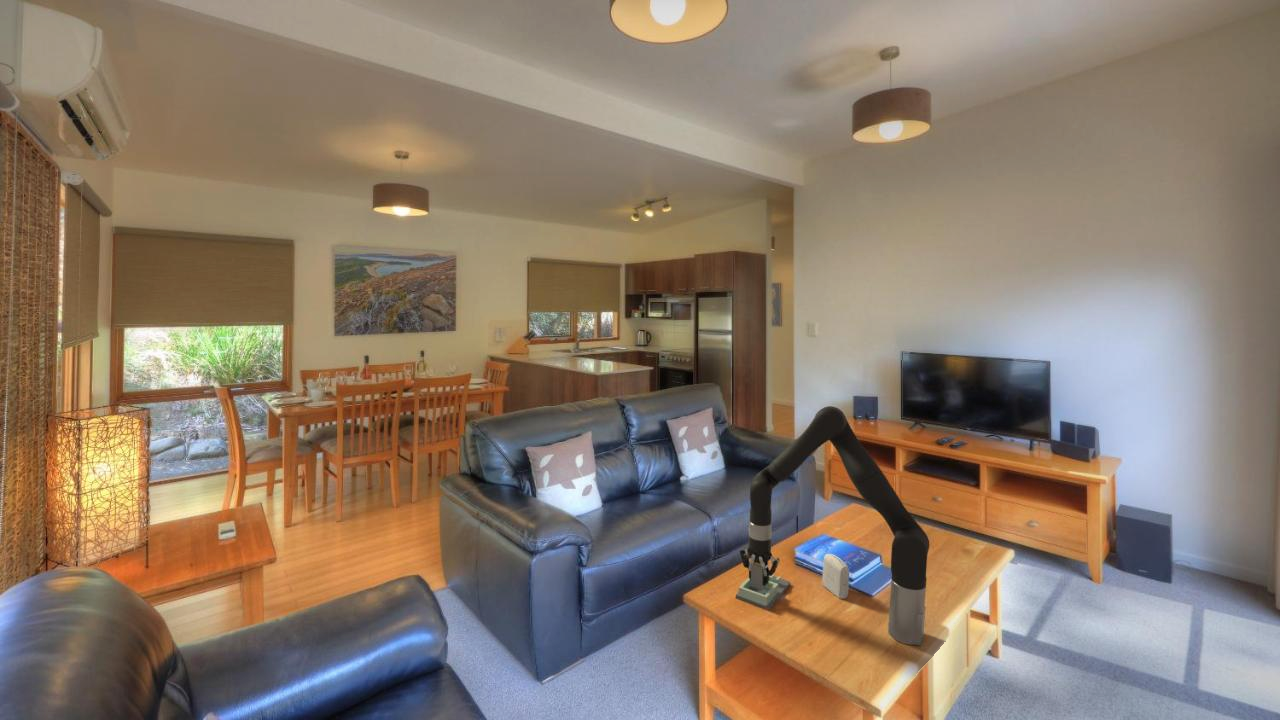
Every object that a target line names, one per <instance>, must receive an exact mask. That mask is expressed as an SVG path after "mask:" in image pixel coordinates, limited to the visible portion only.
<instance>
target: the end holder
mask: <svg viewBox="0 0 1280 720" xmlns="http://www.w3.org/2000/svg"><path fill="white" fill-rule="evenodd" d="M750 587H751V581H750V579H749V576H748V577H747V578H746V579H745V580H744V582H742V584H740V586H739V587H738V592H739V595H738V596H740V597H743V598H746V599H749V600H751V601H754V602H757V603H759V604H762V605H765V606H767V605H768V604H769V602H770V601H771V600H772V599H773V598H774V596H775V595H776V594H777V593H778V584H777V583H774V582H771V581H769V582H768V584H767V585H766V586H765V587H764V588H763V589H765V590H768V592H767V593H766V595H763V594H761V593H758V592H755V591H752V590H749V588H750Z"/></svg>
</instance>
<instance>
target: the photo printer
mask: <svg viewBox="0 0 1280 720" xmlns="http://www.w3.org/2000/svg"><path fill="white" fill-rule="evenodd" d="M822 563H823V565H822V581H821V582H822V585H823V586H824V588H826V589H828V591H829V592H831V593H832V594H833V595H834V596H835V597H836V598H838V599H841V600H845V599H847V598H848V596H849V586H850V585H849V583H850V568H849V566H848V565H847V564H846V562H845V561H844V560H842V559H841V558H840V557H839V556H837V555H835V554H833V553H826V554H825V555H824V557H823V562H822Z"/></svg>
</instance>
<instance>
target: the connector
mask: <svg viewBox="0 0 1280 720" xmlns="http://www.w3.org/2000/svg"><path fill="white" fill-rule="evenodd" d="M765 565H766V564H765ZM763 575H764V574H763V567H761V564H759V563H756V562H755V563H754V564H751V587H754V588H756V589H759V590H763V588H764V587H765V586H764V585H763Z"/></svg>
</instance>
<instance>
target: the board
mask: <svg viewBox="0 0 1280 720" xmlns="http://www.w3.org/2000/svg"><path fill="white" fill-rule="evenodd" d="M769 581H771V582H774V583H777V584H778V593H777V594H776V595H775V596H774V598H773V599H772V600H771V601H770V602H769V604H768V605H767V606H765V605H762V604H759V603H757V602H754V601H751V600H749V599H746V598H743V597H740V596H738V595H739V591H738V592H737V593H736V594H735V599H738V600H740V601H742V602H746V603H747V604H751V605H753V606H756V607H758V608H762V609H764V610H766V611H770V610H771V609H772V608H773V606H775V604H776V603H777V602H778V600H779V599H780V598H781V597H782V595H784V593H785V592H786V591H787V589H788V588H789V587H790V586H791V581H790V580H787V579H783V578H781V576H779V575H778V576H775V574H773V575H772V576H770V575H769ZM749 590H752V591H755V592H758V593H761V594H763V595H766V593H767V592H768V590H765V589H763V590H759V589H756V588H754V587H750V588H749Z"/></svg>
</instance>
